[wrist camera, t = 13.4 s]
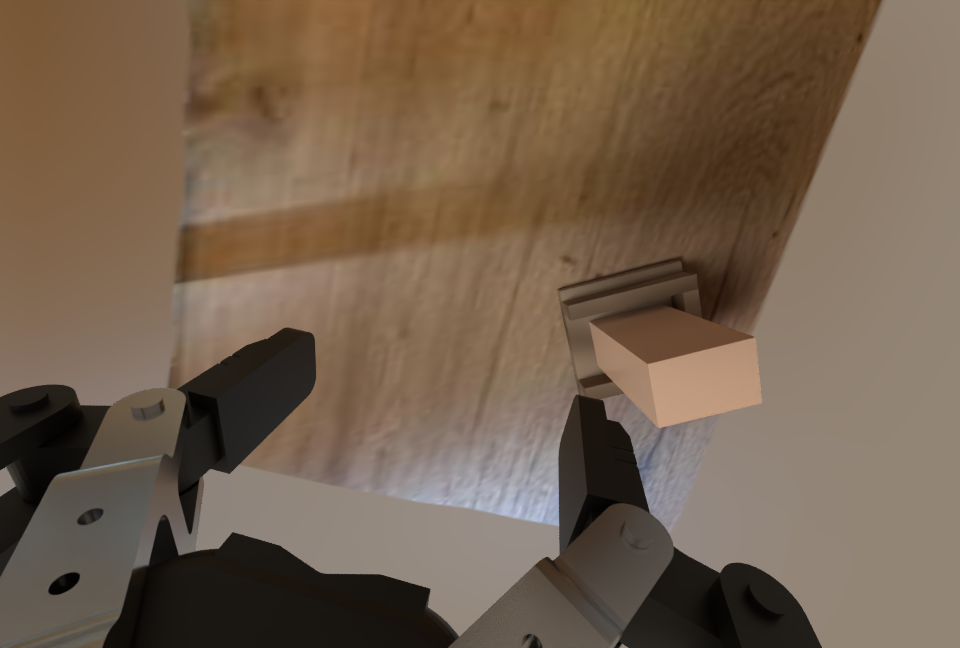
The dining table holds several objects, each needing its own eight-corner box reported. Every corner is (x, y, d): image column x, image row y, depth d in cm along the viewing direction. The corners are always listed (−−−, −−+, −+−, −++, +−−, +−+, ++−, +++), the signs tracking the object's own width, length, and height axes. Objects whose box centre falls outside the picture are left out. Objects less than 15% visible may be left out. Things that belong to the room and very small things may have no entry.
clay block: (589, 321, 32) (647, 364, 21) (660, 303, 32) (755, 337, 21) (598, 366, 33) (658, 428, 22) (667, 348, 33) (762, 402, 22)
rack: (557, 289, 33) (565, 294, 30) (674, 259, 32) (695, 262, 29) (579, 397, 35) (589, 412, 32) (690, 370, 34) (710, 383, 31)
